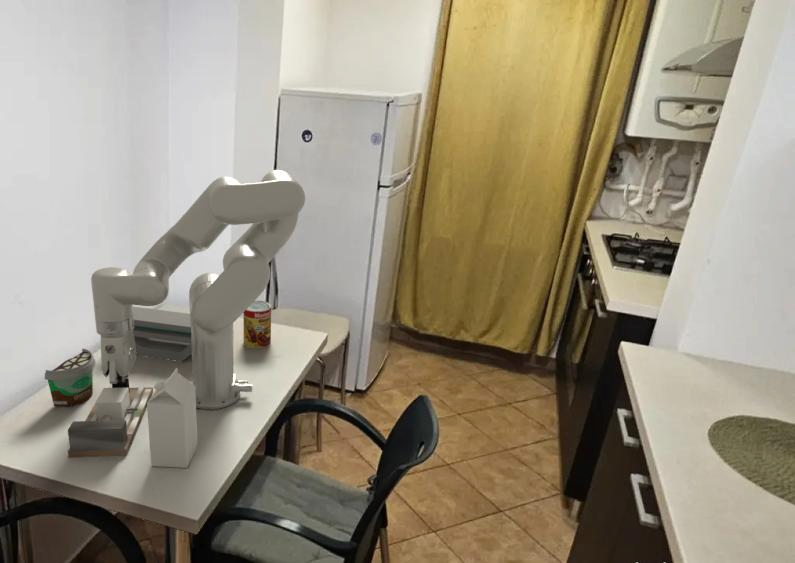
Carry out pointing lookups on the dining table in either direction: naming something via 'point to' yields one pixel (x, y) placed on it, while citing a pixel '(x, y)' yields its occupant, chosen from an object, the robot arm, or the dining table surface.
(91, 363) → the food container
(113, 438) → the gauge board
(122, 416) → the gauge carriage
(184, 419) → the milk carton
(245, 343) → the canned food
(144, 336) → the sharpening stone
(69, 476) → the dining table surface
